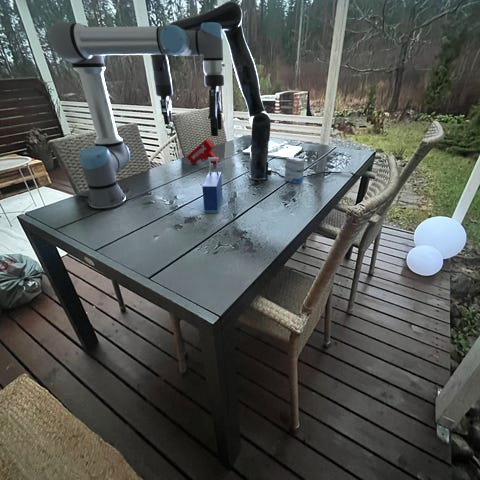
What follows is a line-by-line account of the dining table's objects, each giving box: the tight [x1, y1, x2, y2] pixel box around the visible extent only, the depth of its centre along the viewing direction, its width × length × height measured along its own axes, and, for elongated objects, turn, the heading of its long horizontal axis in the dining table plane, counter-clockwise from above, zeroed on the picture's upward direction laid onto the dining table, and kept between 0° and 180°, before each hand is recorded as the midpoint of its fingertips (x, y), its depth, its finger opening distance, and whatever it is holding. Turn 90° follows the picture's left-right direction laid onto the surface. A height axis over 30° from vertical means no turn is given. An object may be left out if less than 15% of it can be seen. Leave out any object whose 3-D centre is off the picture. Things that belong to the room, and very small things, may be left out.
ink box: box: [284, 156, 306, 185], centre depth 140 cm, size 8×5×12 cm, turn 47°
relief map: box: [242, 138, 304, 160], centre depth 192 cm, size 27×35×5 cm
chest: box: [202, 176, 223, 214], centre depth 117 cm, size 16×6×11 cm, turn 177°
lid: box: [201, 156, 222, 190], centre depth 112 cm, size 17×6×9 cm, turn 177°
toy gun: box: [186, 138, 221, 167], centre depth 167 cm, size 18×4×15 cm
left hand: (216, 132), depth 116 cm, fingers open, 13 cm apart
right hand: (168, 122), depth 129 cm, fingers open, 8 cm apart
